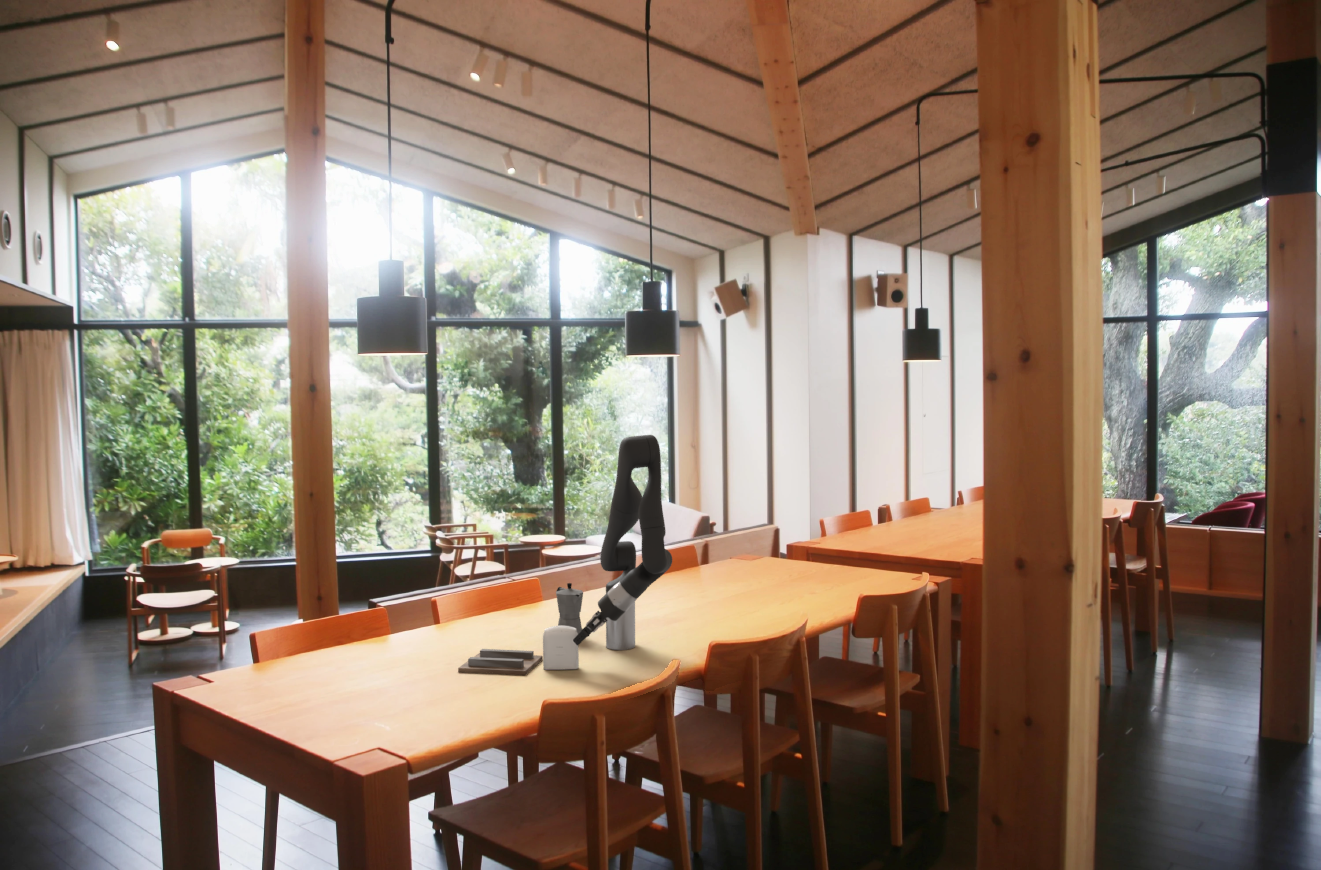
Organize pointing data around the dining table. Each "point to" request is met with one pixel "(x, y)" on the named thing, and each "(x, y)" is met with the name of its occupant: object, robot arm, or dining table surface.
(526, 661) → the cradle
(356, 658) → the dining table surface
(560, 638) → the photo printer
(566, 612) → the coffeepot
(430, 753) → the dining table surface
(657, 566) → the robot arm
